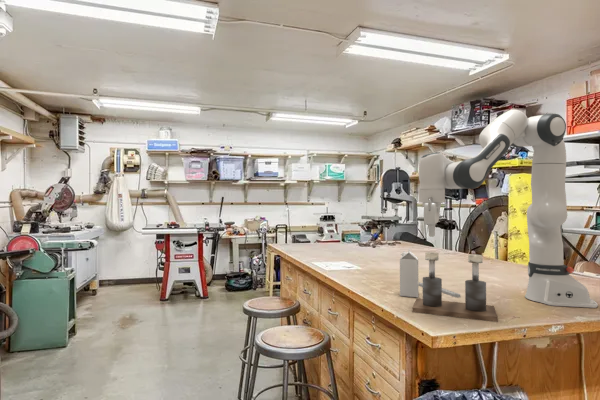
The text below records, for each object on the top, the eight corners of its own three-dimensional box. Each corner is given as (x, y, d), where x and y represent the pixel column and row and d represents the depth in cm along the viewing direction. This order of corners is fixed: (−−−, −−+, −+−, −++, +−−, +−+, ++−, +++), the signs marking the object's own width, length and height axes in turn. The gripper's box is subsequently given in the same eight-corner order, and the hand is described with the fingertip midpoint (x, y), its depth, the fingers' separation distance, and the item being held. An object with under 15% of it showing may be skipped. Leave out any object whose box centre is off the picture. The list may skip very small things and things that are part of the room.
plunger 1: (438, 276, 130) (438, 252, 130) (438, 279, 126) (438, 254, 126) (426, 275, 132) (425, 252, 132) (425, 278, 128) (424, 253, 128)
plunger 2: (482, 280, 124) (482, 254, 124) (483, 282, 120) (482, 256, 120) (468, 279, 126) (468, 254, 126) (468, 281, 122) (468, 255, 122)
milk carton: (418, 293, 150) (418, 248, 151) (418, 297, 144) (418, 250, 144) (400, 292, 153) (400, 247, 153) (399, 296, 146) (399, 249, 146)
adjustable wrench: (462, 298, 145) (462, 294, 145) (447, 299, 143) (447, 295, 143) (428, 284, 169) (428, 280, 169) (415, 285, 168) (415, 281, 168)
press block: (493, 310, 127) (493, 279, 127) (497, 321, 114) (497, 287, 114) (416, 302, 138) (416, 273, 138) (412, 311, 125) (412, 280, 125)
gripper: (439, 197, 118) (439, 239, 118) (442, 198, 137) (442, 234, 137) (419, 197, 121) (419, 238, 121) (424, 198, 140) (425, 234, 140)
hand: (431, 236), depth 129 cm, fingers closed
